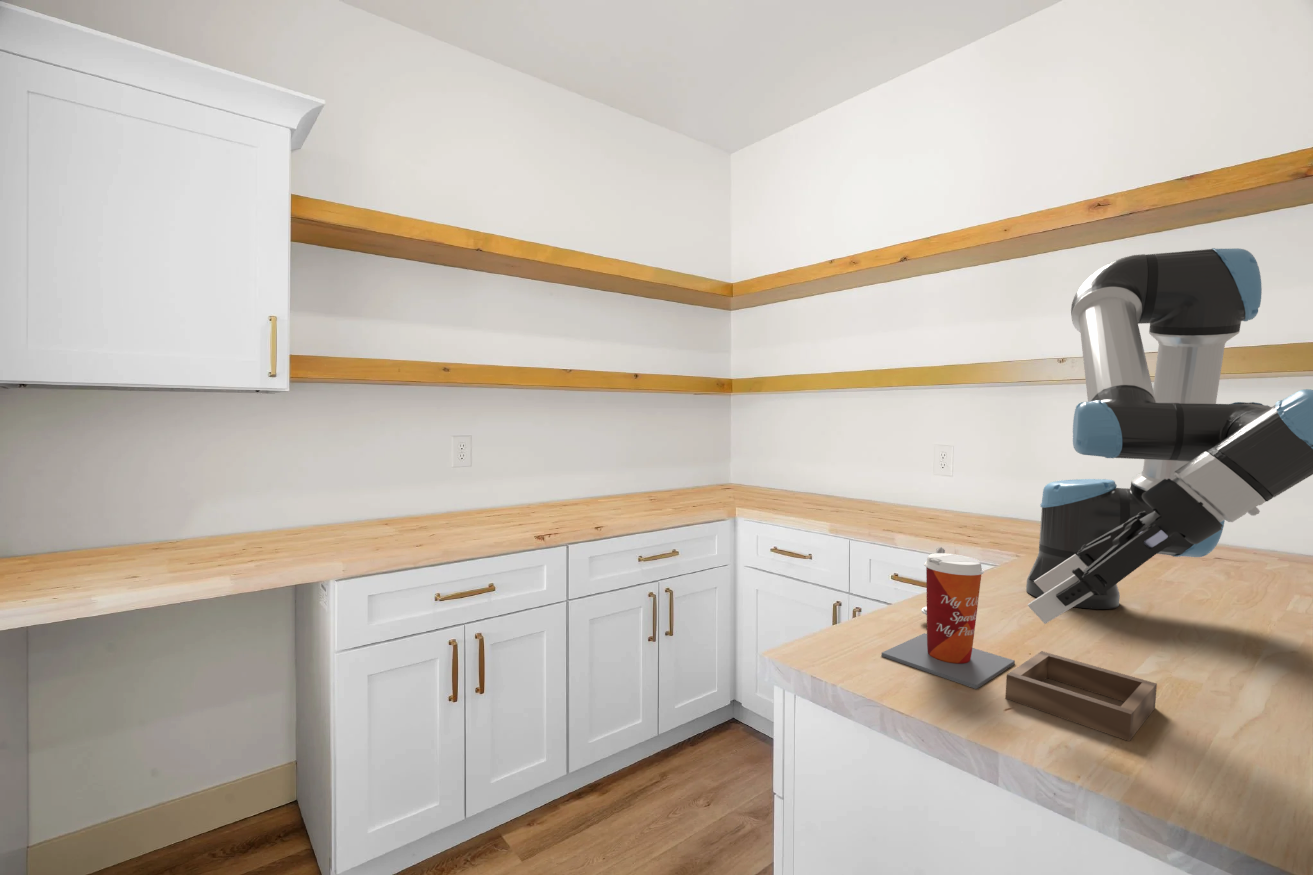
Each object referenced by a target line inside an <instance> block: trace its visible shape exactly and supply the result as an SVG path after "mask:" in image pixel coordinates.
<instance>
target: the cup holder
mask: <svg viewBox="0 0 1313 875" xmlns="http://www.w3.org/2000/svg"><path fill="white" fill-rule="evenodd" d="M1046 679H1050V680H1052V681H1055V682H1059V683H1062V684H1066V685H1069V686H1072V687H1076V688H1079V689H1082V690H1084V691H1088V692H1091V693H1094V694H1098V695H1100V696H1104V697H1108V698H1110V699H1113V700H1116V701H1117V700H1118V701H1121V702H1123V703H1122V704H1121V705H1120V706H1119V705H1116V704H1113V703H1110V702H1107V701H1104V700H1100V699H1099V698H1098V699H1097V698H1094V697H1091V696H1088V695H1084V694H1083V693H1082V694H1081V693H1079V692H1075V691H1072V690H1068V689H1066V688H1062V687H1059V686H1057V685H1053V684H1050V683H1047V682H1044V681H1045V680H1046ZM1157 687H1158V683H1157V682H1153V681H1150V680H1149V681H1148V680H1145V679H1142V678H1138V677H1135V676H1133V675H1132V676H1131V675H1128V674H1124V673H1121V672H1118V671H1114V670H1110V669H1107V668H1104V667H1103V668H1102V667H1099V666H1096V665H1093V664H1088V663H1085V662H1082V661H1078V660H1075V659H1071V658H1068V657H1064V656H1060V655H1058V654H1057V655H1056V654H1053V653H1050V652H1047V651H1043V650H1041V651H1039V652H1038V653H1037V654H1035V655H1033V656H1031V657H1030V658H1029V659H1028V660H1026V661H1025V662H1023V663H1021V664H1020V665H1018V666H1017V667H1016V668H1014V669H1012V670H1011V671H1009V673H1007V674H1006V680H1005V696H1004V697H1005V699H1006V700H1009V701H1012V702H1015V703H1018V704H1020V705H1024V706H1027V707H1029V708H1032V709H1035V710H1039V711H1041V712H1044V713H1047V714H1050V715H1052V716H1055V717H1059V718H1060V719H1064V720H1067V721H1070V722H1072V723H1076V724H1078V725H1081V726H1084V727H1087V728H1090V729H1092V730H1096V731H1099V732H1102V733H1104V734H1107V735H1110V736H1113V737H1116V738H1119V739H1122V740H1125V741H1128V742H1130V741H1131V740H1132V738H1133V737H1134V736H1135V735H1136V733H1137V732H1138V731H1139V729H1140V728H1141V727H1142V725H1144V722H1146V720H1147V719H1148V718H1149V717H1150V715H1151V714H1152V712H1154V710H1155V709H1156V701H1157V700H1156V698H1157Z"/></svg>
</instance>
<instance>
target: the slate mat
mask: <svg viewBox="0 0 1313 875" xmlns="http://www.w3.org/2000/svg"><path fill="white" fill-rule="evenodd" d="M881 657H883V658H885V659H886V658H887V659H888V660H892V661H894V662H897V663H900V664H903V665H906V666H909V667H912V668H914V669H917V670H920V671H923V672H925V673H929V674H932V675H935V676H938V677H940V678H943V679H945V680H949V681H952V682H954V683H958V684H961V685H964V686H966V687H969V688H971V689H975V690H977V689H979V688H980V687H982V686H983V685H985V684H986V683H988V682H989V681H991V680H993V679H994V678H995V677H997V676H999V675H1000V674H1002V673H1003V672H1005V671H1006V670H1008V669H1010V668H1011V667H1012V666H1014V665H1015V664H1016V663H1015V661H1016V660H1015V659H1012V658H1008V657H1004V656H1001V655H998V654H994V653H991V652H988V651H984V650H981V649H978V648H975V647H972V654H971V659H970V661H969V662H968V663H964V664H955V663H948V662H944V661H940V660H937V659H935V658H933V657H931V656H930V655H929V654H928V650H927V633H926V632H924V633H922V634H919V635H917V636H915V637H913V638H910V639H908V640H906V641H905V642H902V643H899V644H896V645H895V646H893V647H891V648H889V649H886V650H883V651H882V652H881Z"/></svg>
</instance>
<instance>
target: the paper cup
mask: <svg viewBox="0 0 1313 875" xmlns="http://www.w3.org/2000/svg"><path fill="white" fill-rule="evenodd" d="M926 558H927V559H926V561H925V562H924V564H923V566H925V567H926V568H925V570H926V572H925V573H926V577H925V580H926V606H927V615H926V634H927V650H928V654H929V655H930V656H931V657H933V658H935V659H937V660H940V661H944V662H948V663H955V664H964V663H968V662H969V661H970V659H971V654H972V648H974V647H973V644H974V637H975V630H976V622H977V621H976V620H977V614H978V606H979V597H980V589H981V580H982V575H984V573H985V570H984V569H983V567H982V563H981V561H980V560H979V559H977V558H974V557H971V556H967V555H961V554H955V553H954V554H953V553H946V552H945V553H936V552H935V553H930V554H929V555H927V557H926Z"/></svg>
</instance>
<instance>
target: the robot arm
mask: <svg viewBox="0 0 1313 875" xmlns="http://www.w3.org/2000/svg"><path fill="white" fill-rule="evenodd" d="M1262 289H1263V286H1262V276H1261V272H1260V267H1259V265H1258V262H1257V259H1256V258H1255V255H1254V254H1252V253H1251V252H1250V251H1248V250H1247V249H1244V248H1215V247H1212V248H1205V249H1196V250H1186V251H1175V252H1161V253H1151V254H1150V253H1149V254H1145V253H1143V254H1132V255H1129V256H1128V255H1127V256H1125V257H1124V256H1123V257H1121V258H1118V259H1116V260H1113V261H1112V262H1109V263H1107V264H1105V265H1103V266H1102V267H1100V268H1099V269H1097V270H1096V271H1095V272H1094V273H1092V274H1091V275H1090V276H1089V277H1088V278H1087V279H1085V281H1083V283H1082V284H1081V285H1080V286H1079V288H1078V289H1077V291H1076V293H1075V294H1074V296H1073V300H1072V302H1071V309H1070V311H1071V312H1070V313H1071V322H1072V324H1073V326H1074V328H1075V329H1076V331H1078V332H1079V333H1080V340H1081V350H1082V359H1083V368H1084V369H1083V370H1084V377H1085V379H1084V380H1085V386H1086V396H1087V401H1082V402H1081V401H1080V402H1078V404H1077V405H1076V406H1075V409H1074V414H1073V420H1072V422H1073V423H1072V445H1073V449H1074V450H1075V452H1077V453H1078V454H1080V455H1083V456H1091V457H1102V458H1103V457H1104V458H1105V459H1130V460H1131V459H1132V460H1133V459H1134V460H1143V467H1142V468H1143V469H1142V471H1141V472H1140V473H1138V474H1136V475H1134V476H1132V478H1131V481H1130V487H1129V488H1128V487H1127V488H1124V487H1123V488H1122V487H1117V486H1118V485H1117V484H1116V481H1115V480H1112V479H1106V478H1103V479H1102V478H1082V479H1078V478H1076V479H1064V480H1063V479H1062V480H1055V481H1050V482H1049V483H1046V485H1045V486H1044V487H1043V489H1042V499H1041V502H1040V505H1039V506H1040V508H1041V514H1040V515H1041V516H1040V529H1039V540H1038V541H1039V542H1038V554H1037V556H1036V559H1035V560H1034V563H1033V565H1032V568H1031V570H1030V572H1029V574H1028V576H1027V579H1026V586H1025V588H1026V589H1025V591H1026V592H1027V593H1028V594H1029V595H1031V596H1033V597H1036V598H1035V599H1033V600H1032V601H1031V602H1029V603H1028V604H1027V606H1028V608H1029V609H1030V610H1031V611H1032V612H1033V613H1034V614H1035V615H1036V617H1038V618H1039V619H1040V621H1041V622H1042V623H1043V624H1044V625H1046V624H1047V623H1049V622H1051V621H1052V620H1055V619H1056V618H1058V617H1059V616H1061V615H1063V614H1064V613H1065V612H1067V611H1069V610H1070V609H1072V608H1073V607H1074V608H1075V607H1076V608H1082V609H1094V610H1111V609H1116V608H1119V606H1120V600H1121V599H1120V598H1121V597H1120V595H1121V594H1120V590H1119V588H1118V583H1120V582H1121V581H1123V580H1124V579H1125V578H1126V577H1127V576H1130V574H1132V572H1134V571H1135V570H1137V569H1138V568H1140V567H1141V566H1142V565H1144V564H1145V563H1147V561H1149V560H1151V558H1153V557H1155V555H1164V556H1165V555H1166V556H1171V557H1175V558H1178V557H1179V558H1180V557H1189V558H1202V557H1206V556H1207V555H1209V554H1210V553H1211V552H1213V551H1214V550H1215V549H1216V547H1217V545H1218V543H1219V541H1220V539H1221V536H1222V534H1223V529H1224V527H1225V521H1226V522H1228V523H1234V522H1235V521H1237V520H1238V519H1240V518H1242V517H1244V516H1245V515H1246V514H1247V513H1248V514H1249V515H1250V516H1253V517H1255V516H1256V515H1258V514H1260V512H1261V511H1260V509H1259V508H1258V506H1262V505H1263V504H1264V503H1266V502H1269V501H1270V500H1272V499H1273V498H1276V497H1277V496H1279V495H1280V494H1283V493H1284V492H1286V491H1287V490H1289V489H1292V487H1294V486H1296V485H1298V484H1299V483H1301V482H1302V481H1305V480H1306V479H1308V478H1309V477H1311V476H1313V389H1309V388H1306V389H1300V390H1297V391H1296V392H1294V393H1292V394H1290V395H1288V396H1287V397H1285V398H1283V399H1280V400H1278V401H1276V402H1275V403H1274V405H1273V406H1270V405H1268V404H1267V405H1265V404H1263V403H1259V402H1254V401H1252V402H1243V401H1242V402H1241V401H1239V402H1238V401H1237V402H1231V403H1217V399H1218V393H1219V392H1218V391H1219V385H1220V380H1221V373H1222V366H1223V360H1224V352H1225V345H1226V343H1227V342H1228V341H1229V340H1232V338H1234V337H1235V336H1237V335H1238V334H1240V331H1241V330H1240V329H1241V324H1242V322H1248V321H1251V320H1253V319H1255V317H1256V316H1257V315H1258V313H1259V308H1260V307H1261V302H1262V294H1263V293H1262ZM1139 324H1149V330H1148V334H1149V335H1151V337H1152V338H1153V339H1155V340H1156V341H1157V342H1158V349H1157V354H1156V355H1157V356H1156V362H1155V371H1154V372H1155V373H1154V380H1153V382H1152V379H1151V375H1150V370H1149V367H1148V361H1147V356H1146V353H1145V349H1144V344H1143V341H1142V339H1143V338H1142V336H1141V331H1140V327H1139ZM1152 384H1153V385H1152Z"/></svg>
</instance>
